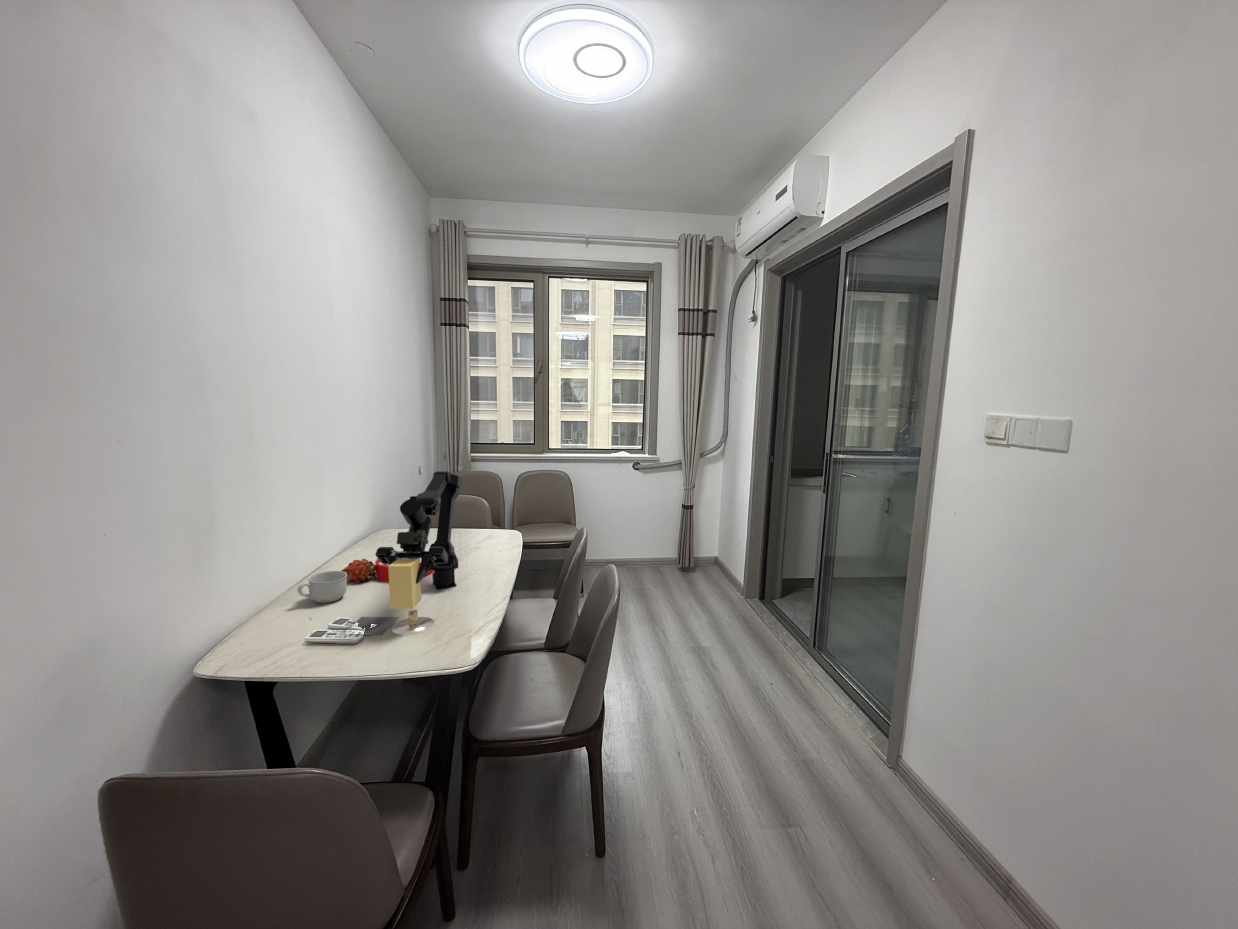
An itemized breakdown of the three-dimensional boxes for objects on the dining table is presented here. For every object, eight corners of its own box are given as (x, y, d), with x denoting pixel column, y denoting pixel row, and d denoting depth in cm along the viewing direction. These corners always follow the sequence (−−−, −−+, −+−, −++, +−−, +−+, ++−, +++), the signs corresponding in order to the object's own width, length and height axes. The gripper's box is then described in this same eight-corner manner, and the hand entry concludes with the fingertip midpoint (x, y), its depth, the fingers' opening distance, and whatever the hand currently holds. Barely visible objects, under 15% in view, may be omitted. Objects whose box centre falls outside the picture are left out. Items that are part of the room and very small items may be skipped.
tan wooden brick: (399, 600, 136) (397, 559, 135) (421, 599, 137) (419, 559, 135) (390, 608, 130) (388, 566, 129) (413, 608, 131) (410, 566, 129)
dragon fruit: (380, 583, 173) (343, 592, 169) (379, 564, 179) (344, 572, 175) (374, 570, 167) (336, 579, 163) (374, 551, 173) (336, 559, 169)
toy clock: (442, 559, 179) (384, 571, 165) (442, 574, 179) (385, 587, 166) (422, 547, 193) (368, 557, 180) (423, 561, 194) (369, 572, 181)
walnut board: (333, 643, 126) (332, 639, 126) (363, 616, 142) (363, 613, 142) (425, 643, 127) (424, 639, 127) (445, 616, 143) (445, 613, 143)
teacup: (342, 590, 162) (341, 567, 161) (352, 599, 155) (351, 575, 154) (294, 602, 153) (292, 577, 152) (302, 612, 145) (300, 587, 144)
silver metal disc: (430, 614, 142) (429, 600, 142) (438, 629, 133) (437, 614, 132) (389, 623, 136) (388, 609, 136) (394, 639, 127) (394, 623, 126)
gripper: (376, 519, 136) (359, 570, 126) (443, 519, 136) (431, 569, 127) (389, 538, 144) (374, 588, 135) (452, 538, 145) (442, 587, 136)
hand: (405, 583), depth 133 cm, fingers closed on tan wooden brick, 6 cm apart
